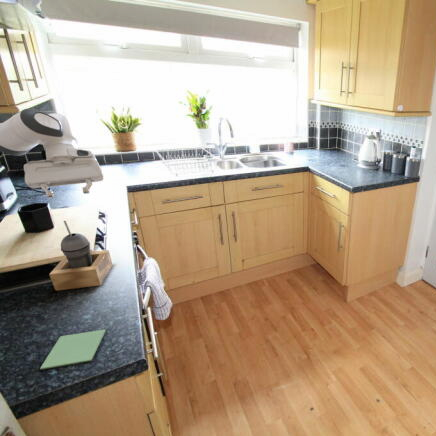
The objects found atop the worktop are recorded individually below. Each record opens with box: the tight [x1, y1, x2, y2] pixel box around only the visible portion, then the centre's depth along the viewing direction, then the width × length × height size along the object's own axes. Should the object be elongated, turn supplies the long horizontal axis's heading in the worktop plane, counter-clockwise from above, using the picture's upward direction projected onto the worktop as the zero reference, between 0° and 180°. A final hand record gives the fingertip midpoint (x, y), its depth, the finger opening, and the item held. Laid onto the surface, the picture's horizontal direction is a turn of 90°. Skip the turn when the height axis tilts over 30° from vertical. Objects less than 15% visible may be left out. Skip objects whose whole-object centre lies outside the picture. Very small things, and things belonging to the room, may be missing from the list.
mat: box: [39, 328, 107, 371], centre depth 77 cm, size 10×10×1 cm
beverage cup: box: [60, 220, 93, 269], centre depth 99 cm, size 7×7×20 cm
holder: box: [48, 249, 114, 292], centre depth 102 cm, size 12×12×6 cm
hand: (68, 195), depth 103 cm, fingers open, 8 cm apart
